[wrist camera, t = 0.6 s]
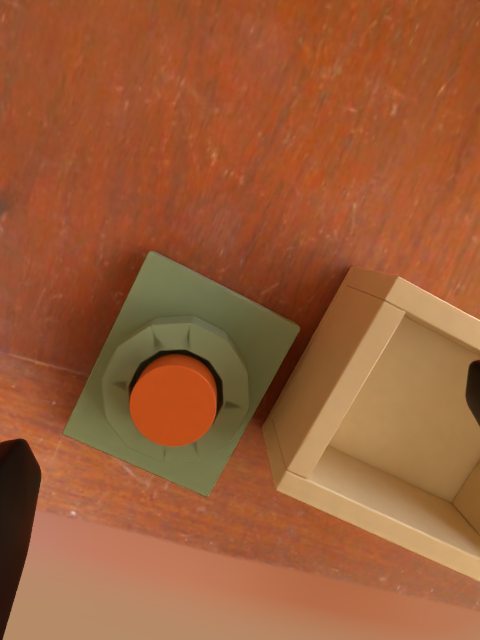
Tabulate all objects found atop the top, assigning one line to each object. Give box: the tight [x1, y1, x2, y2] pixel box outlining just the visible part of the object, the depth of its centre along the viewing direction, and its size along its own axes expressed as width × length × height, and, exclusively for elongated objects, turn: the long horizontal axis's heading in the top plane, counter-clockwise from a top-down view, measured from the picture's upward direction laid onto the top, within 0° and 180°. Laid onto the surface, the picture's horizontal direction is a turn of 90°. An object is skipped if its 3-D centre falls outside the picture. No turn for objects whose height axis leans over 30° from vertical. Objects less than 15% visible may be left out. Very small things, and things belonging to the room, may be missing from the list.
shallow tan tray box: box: [262, 266, 480, 582], centre depth 20 cm, size 10×12×6 cm
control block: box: [62, 251, 300, 497], centre depth 21 cm, size 10×8×3 cm
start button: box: [129, 354, 217, 447], centre depth 19 cm, size 4×4×2 cm
